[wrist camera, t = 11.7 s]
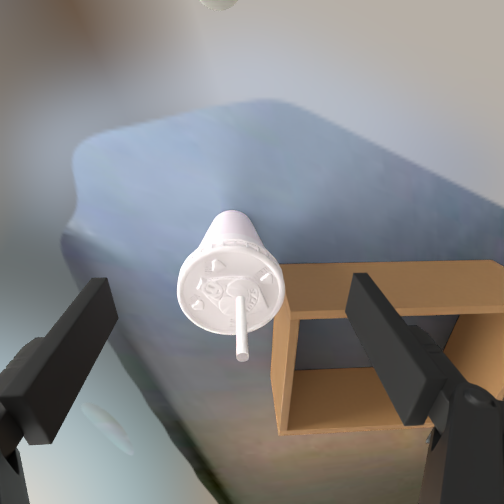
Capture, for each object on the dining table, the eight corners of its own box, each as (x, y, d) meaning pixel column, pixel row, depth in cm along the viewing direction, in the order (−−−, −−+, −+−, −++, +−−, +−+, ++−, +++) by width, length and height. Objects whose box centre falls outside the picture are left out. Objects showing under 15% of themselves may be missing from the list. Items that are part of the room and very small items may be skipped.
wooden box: (277, 263, 27) (290, 311, 20) (491, 259, 28) (565, 303, 22) (270, 375, 34) (278, 436, 28) (441, 368, 35) (486, 424, 29)
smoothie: (249, 270, 27) (263, 411, 14) (185, 246, 25) (139, 381, 13) (280, 212, 24) (330, 323, 12) (211, 181, 23) (186, 272, 10)
